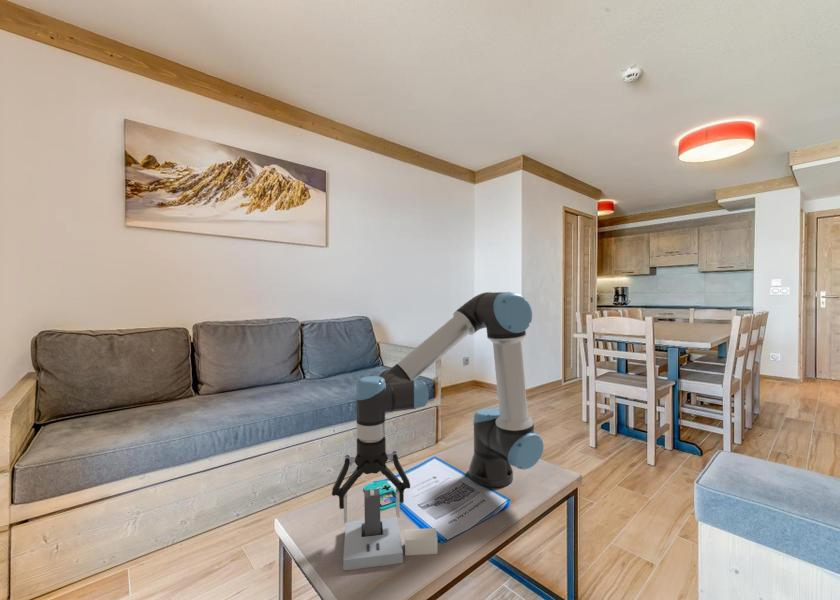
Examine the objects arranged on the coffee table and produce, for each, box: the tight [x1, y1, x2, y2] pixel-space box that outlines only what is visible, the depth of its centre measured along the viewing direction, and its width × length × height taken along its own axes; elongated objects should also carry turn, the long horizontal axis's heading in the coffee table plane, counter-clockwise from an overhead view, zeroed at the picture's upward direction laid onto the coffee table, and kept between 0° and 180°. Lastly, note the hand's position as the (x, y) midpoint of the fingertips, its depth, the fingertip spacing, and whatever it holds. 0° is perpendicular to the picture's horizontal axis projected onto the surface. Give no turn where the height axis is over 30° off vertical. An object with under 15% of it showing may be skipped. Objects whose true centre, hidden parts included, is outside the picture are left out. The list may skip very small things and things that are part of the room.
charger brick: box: [363, 489, 382, 537], centre depth 95 cm, size 4×4×12 cm
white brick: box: [404, 527, 439, 556], centre depth 91 cm, size 8×4×4 cm, turn 94°
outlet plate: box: [342, 516, 404, 571], centre depth 92 cm, size 14×14×3 cm
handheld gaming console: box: [363, 480, 405, 511], centre depth 115 cm, size 8×1×15 cm
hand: (372, 516), depth 95 cm, fingers open, 13 cm apart
